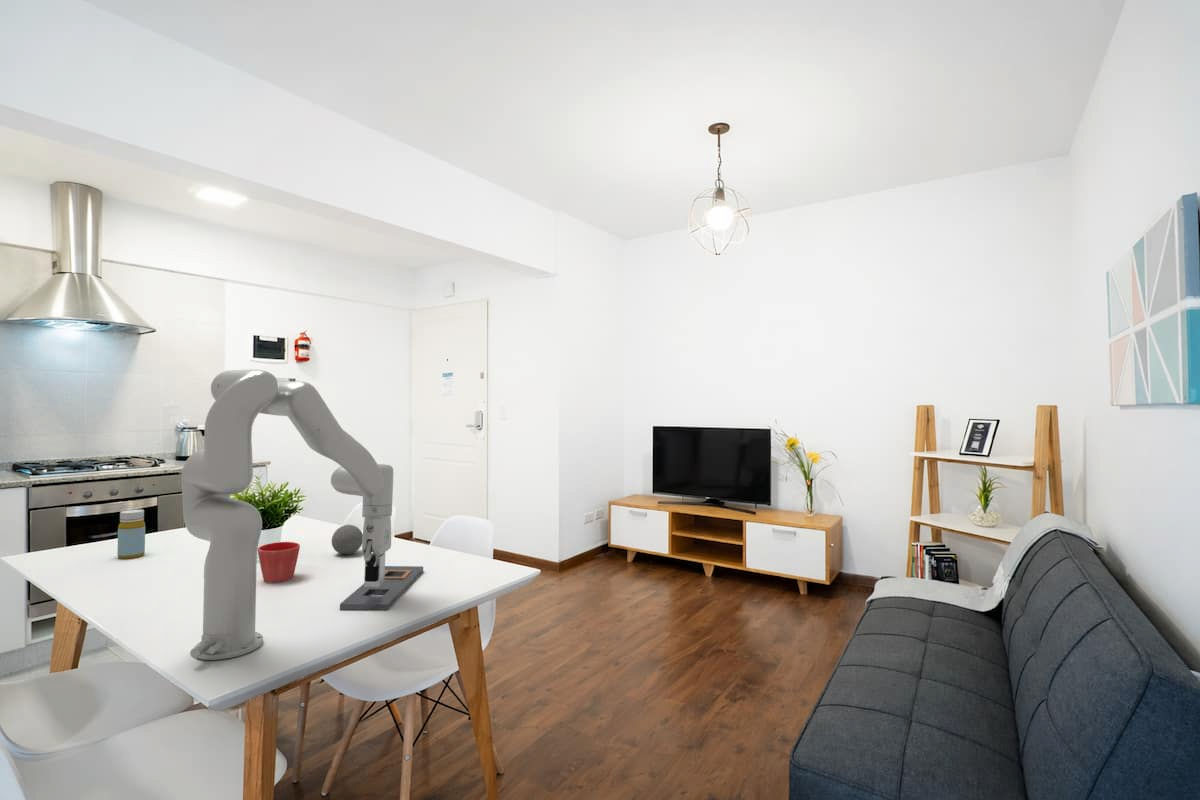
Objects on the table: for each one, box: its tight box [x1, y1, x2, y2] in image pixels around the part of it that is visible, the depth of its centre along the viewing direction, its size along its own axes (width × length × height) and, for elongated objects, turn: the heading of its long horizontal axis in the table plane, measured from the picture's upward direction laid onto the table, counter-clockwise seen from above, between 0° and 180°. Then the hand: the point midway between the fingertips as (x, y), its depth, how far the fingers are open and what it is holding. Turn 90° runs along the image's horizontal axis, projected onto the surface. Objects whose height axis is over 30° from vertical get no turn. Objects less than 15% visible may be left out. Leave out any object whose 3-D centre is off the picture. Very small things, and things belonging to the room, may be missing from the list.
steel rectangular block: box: [363, 552, 386, 587], centre depth 157 cm, size 4×4×8 cm
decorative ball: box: [331, 524, 363, 556], centre depth 200 cm, size 10×10×10 cm
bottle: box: [117, 509, 146, 560], centre depth 192 cm, size 7×7×15 cm
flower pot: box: [257, 541, 301, 583], centre depth 172 cm, size 11×11×10 cm
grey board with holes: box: [339, 565, 424, 611], centre depth 165 cm, size 34×12×2 cm, turn 2°
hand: (374, 577), depth 157 cm, fingers closed on steel rectangular block, 4 cm apart
